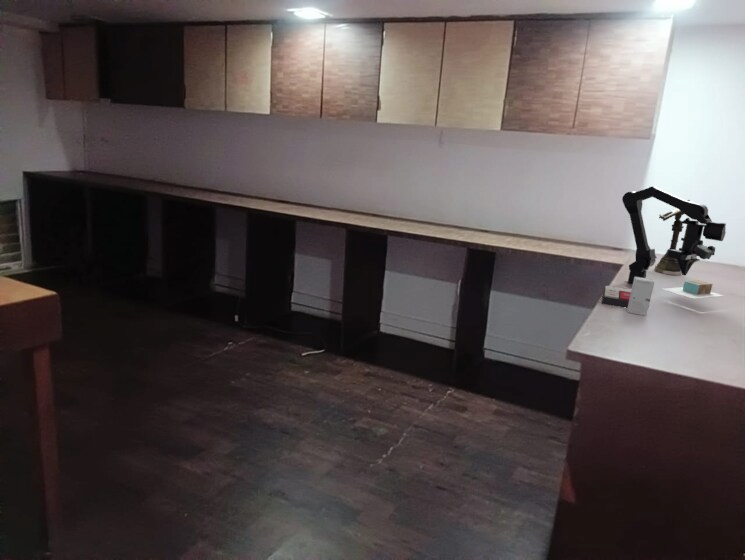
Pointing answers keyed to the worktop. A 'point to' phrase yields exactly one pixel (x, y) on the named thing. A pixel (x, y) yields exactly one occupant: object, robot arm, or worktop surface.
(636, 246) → the robot arm
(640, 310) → the skincare box
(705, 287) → the wooden block
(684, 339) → the worktop surface
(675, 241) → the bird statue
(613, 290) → the white black red box
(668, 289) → the white mat
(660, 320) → the worktop surface
